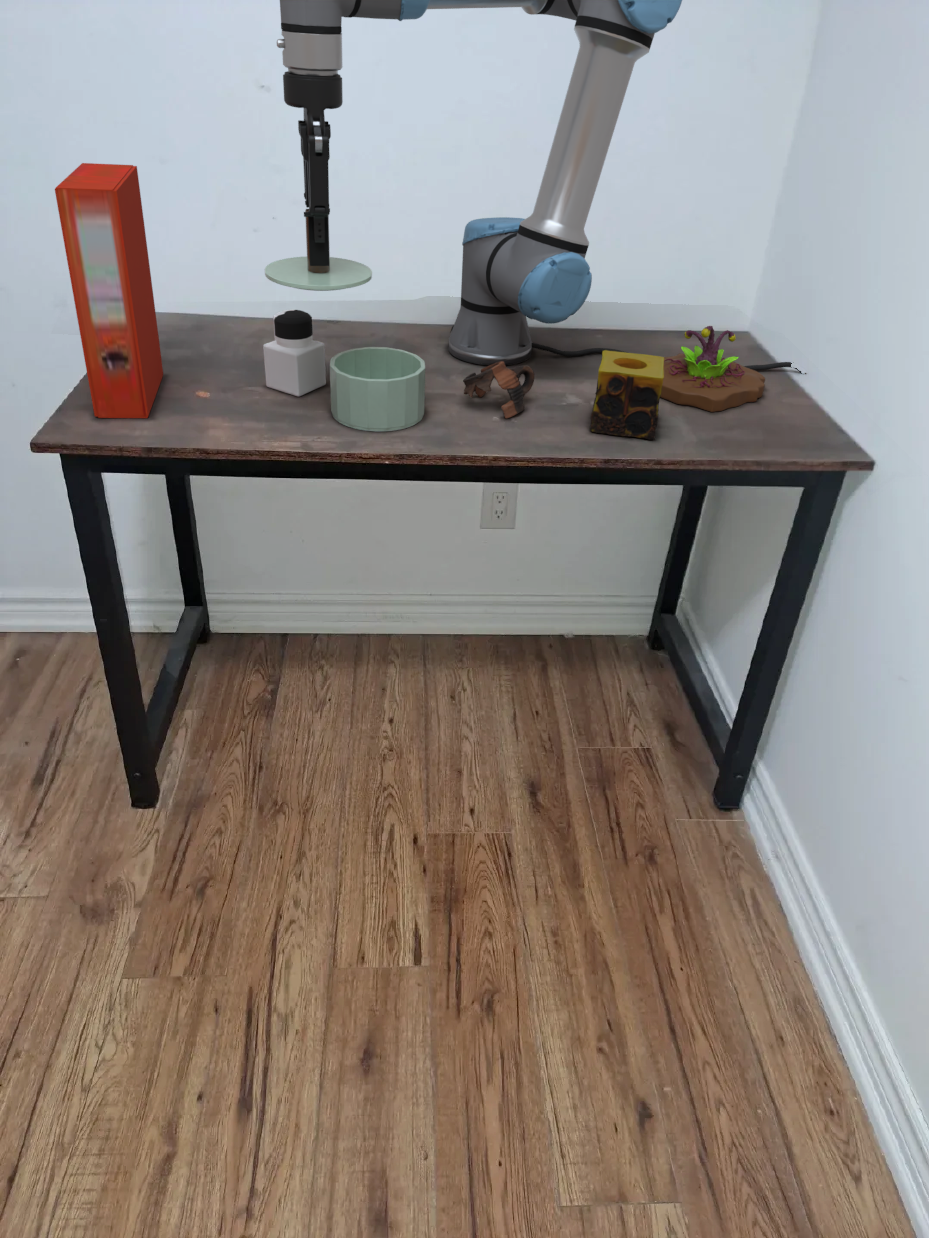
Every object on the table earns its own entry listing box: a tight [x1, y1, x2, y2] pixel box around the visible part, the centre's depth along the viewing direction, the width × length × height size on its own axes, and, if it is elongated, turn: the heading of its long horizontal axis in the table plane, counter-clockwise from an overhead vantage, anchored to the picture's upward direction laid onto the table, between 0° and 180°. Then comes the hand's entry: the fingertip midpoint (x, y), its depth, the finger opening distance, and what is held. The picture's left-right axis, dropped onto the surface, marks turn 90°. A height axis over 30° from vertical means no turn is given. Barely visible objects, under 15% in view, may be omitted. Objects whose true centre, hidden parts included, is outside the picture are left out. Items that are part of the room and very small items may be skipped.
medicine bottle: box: [262, 309, 327, 398], centre depth 151 cm, size 7×7×12 cm
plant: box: [660, 325, 766, 413], centre depth 160 cm, size 20×20×11 cm
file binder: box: [54, 162, 164, 419], centre depth 139 cm, size 8×17×32 cm, turn 7°
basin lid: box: [264, 208, 373, 292], centre depth 132 cm, size 15×15×9 cm
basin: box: [329, 346, 426, 433], centre depth 145 cm, size 14×14×8 cm
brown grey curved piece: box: [462, 361, 535, 420], centre depth 151 cm, size 12×9×8 cm
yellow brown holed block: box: [589, 350, 665, 441], centre depth 146 cm, size 10×10×10 cm
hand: (318, 261), depth 133 cm, fingers closed on basin lid, 3 cm apart
